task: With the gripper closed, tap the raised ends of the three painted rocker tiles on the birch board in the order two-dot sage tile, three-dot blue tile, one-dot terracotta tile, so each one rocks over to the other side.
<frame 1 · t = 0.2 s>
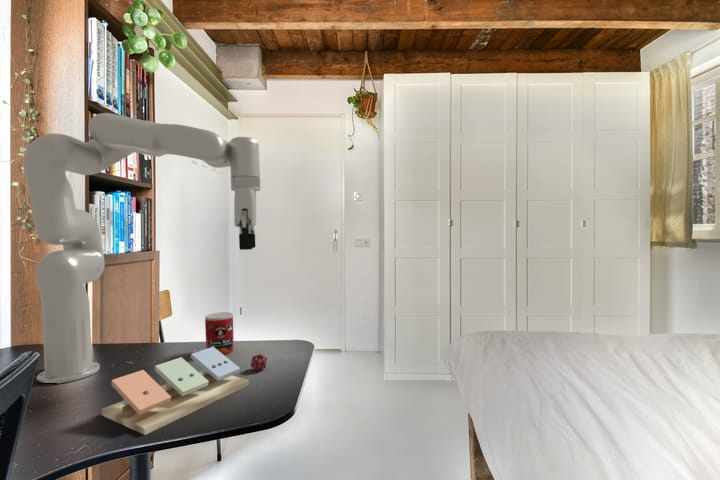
hand: (247, 248, 102), 31 cm above the table, tool pointing down, fingers open, 9 cm apart
tile 3: (214, 365, 87), point 5 cm above the table, hinge at 22.0°
tile 1: (140, 393, 73), point 5 cm above the table, hinge at 22.0°
canned food: (220, 352, 111), on the table
board: (181, 398, 80), on the table
dice: (259, 370, 96), on the table
tile 2: (181, 378, 80), point 5 cm above the table, hinge at 22.0°
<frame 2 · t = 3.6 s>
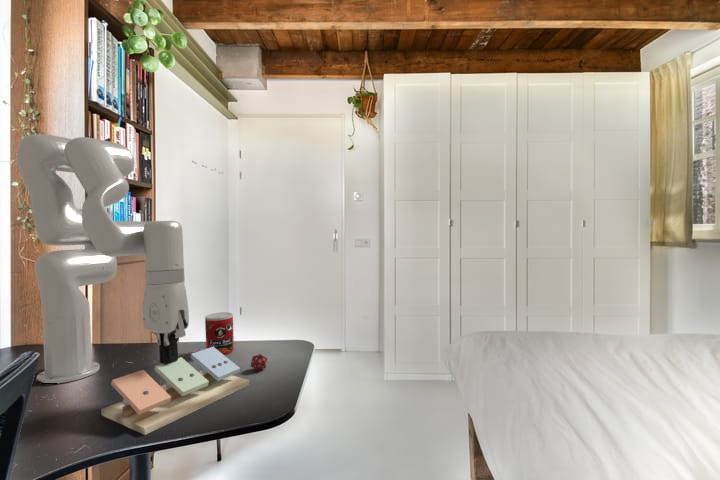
hand: (169, 361, 82), 7 cm above the table, tool pointing down, fingers closed
tile 2: (181, 378, 80), point 5 cm above the table, hinge at 22.0°, touching gripper
everything else where it was.
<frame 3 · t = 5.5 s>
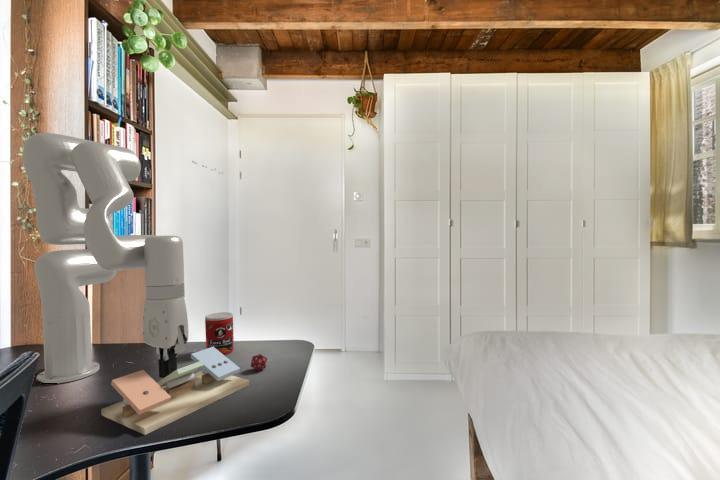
hand: (168, 375, 82), 4 cm above the table, tool pointing down, fingers closed
tile 2: (179, 377, 80), point 4 cm above the table, hinge at -29.6°
everything else where it was.
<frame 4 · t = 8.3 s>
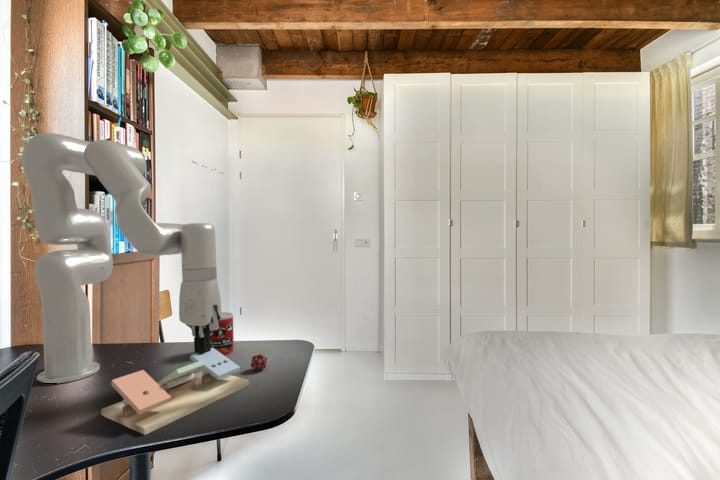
hand: (202, 352, 90), 7 cm above the table, tool pointing down, fingers closed
tile 3: (214, 365, 87), point 5 cm above the table, hinge at 18.5°, touching gripper
tile 2: (179, 377, 80), point 4 cm above the table, hinge at -30.2°
everything else where it was.
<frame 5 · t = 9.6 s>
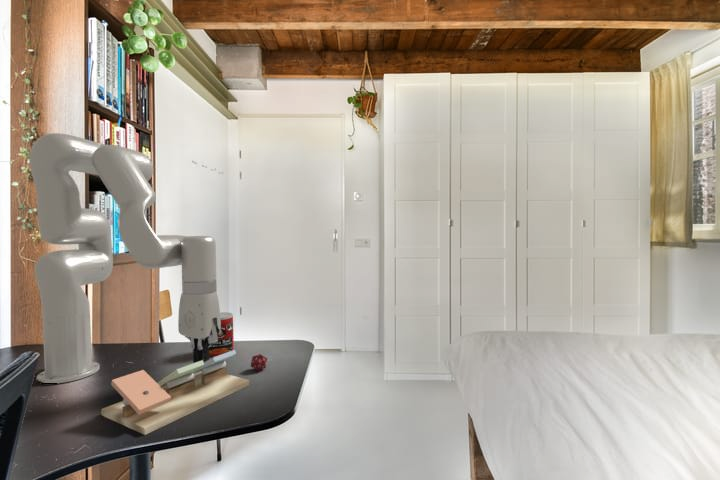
hand: (201, 364, 90), 4 cm above the table, tool pointing down, fingers closed
tile 3: (213, 365, 88), point 4 cm above the table, hinge at -27.4°, touching gripper
everything else where it was.
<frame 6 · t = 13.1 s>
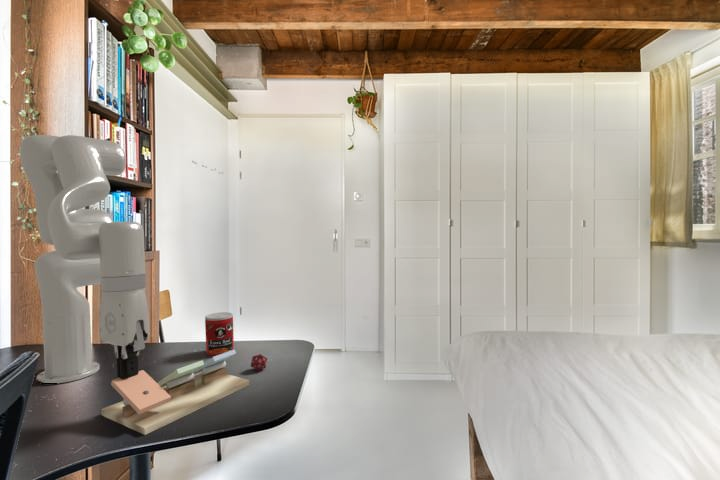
hand: (128, 376, 75), 7 cm above the table, tool pointing down, fingers closed
tile 3: (213, 365, 88), point 4 cm above the table, hinge at -28.8°
tile 1: (140, 393, 73), point 5 cm above the table, hinge at 21.4°, touching gripper
everything else where it was.
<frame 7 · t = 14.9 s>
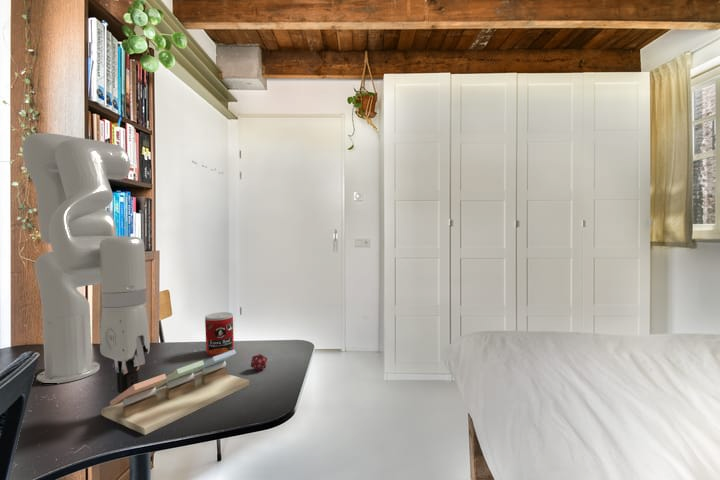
hand: (128, 390, 75), 4 cm above the table, tool pointing down, fingers closed
tile 1: (139, 393, 73), point 4 cm above the table, hinge at -30.0°
everything else where it was.
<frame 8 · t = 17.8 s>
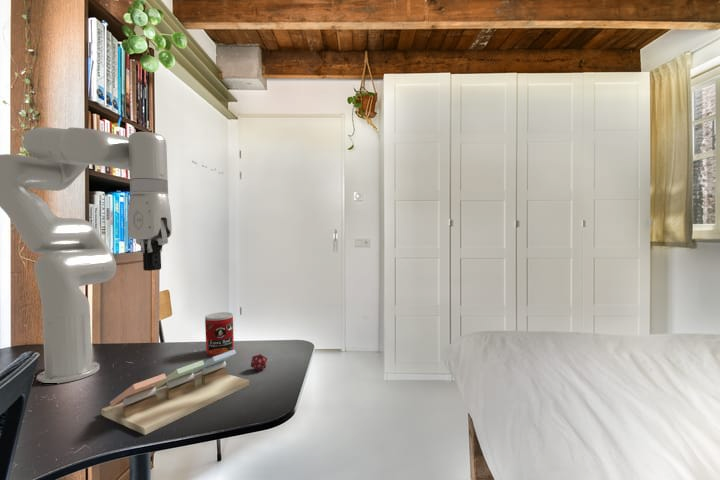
hand: (152, 269, 86), 27 cm above the table, tool pointing down, fingers closed
tile 1: (139, 393, 73), point 4 cm above the table, hinge at -30.7°
everything else where it was.
at the end: tile 2 at -30° (first picture: +22°); tile 3 at -29° (first picture: +22°); tile 1 at -31° (first picture: +22°) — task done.
